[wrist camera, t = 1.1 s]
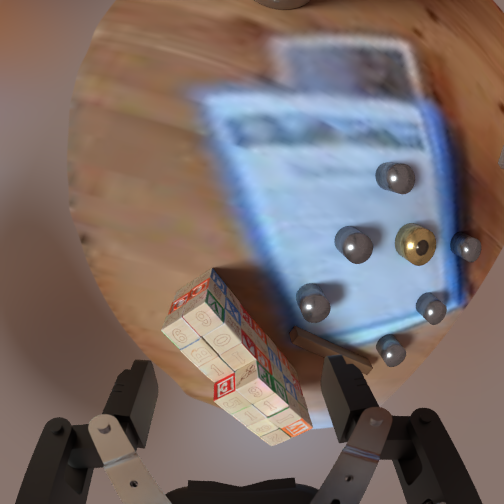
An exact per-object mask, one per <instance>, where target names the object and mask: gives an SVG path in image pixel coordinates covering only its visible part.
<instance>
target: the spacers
mask: <svg viewBox="0 0 504 504" xmlns="http://www.w3.org/2000/svg"><path fill="white" fill-rule="evenodd" d="M376 181H377V183H378V185H379V186H380V187H381V188H382V189H385V190H388V191H392V192H396V193H399V194H406V193H408V192H410V191H411V190H412V188H413V186H414V183H415V175H414V172H413V170H412V169H411V168H410V167H409V166H408V165H406V164H398V163H388V162H386V163H383V164H381V165H380V166H379V167H378V168H377V171H376ZM335 246H336V248H337V249H338V250H339V251H340V252H341V253H342V254H343V255H344V256H345V257H346V258H347V259H348V260H349V261H350V262H352V263H354V264H360V263H363V262H365V261H366V260H368V259H369V257H370V256H371V254H372V251H373V244H372V241H371V239H370V238H369V237H368V236H366V235H365V234H363V233H362V232H360V231H359V230H357V229H355V228H354V227H351V226H347V227H343V228H342V229H340V230H339V231H338V232H337V234H336V236H335ZM450 247H451V251H452V252H453V253H454V254H456V255H458V256H460V257H461V258H463V259H465V260H467V261H469V262H474V261H475V260H477V258H478V257H479V255H480V252H481V243H480V241H479V240H478V239H476V238H473V237H471V236H469V235H467V234H464V233H462V232H457V233H456V234H455V235H454V236H453V238H452V240H451V244H450ZM296 301H297V303H298V305H299V308H300V310H301V313H302V315H303V317H304V319H305V320H306V321H308V322H311V323H317V322H320V321H322V320H324V319H325V318H326V317H327V316H328V315H329V313H330V303H329V302H328V300H327V298H326V297H325V295H324V294H323V292H322V290H321V289H320V287H319V286H317V285H315V284H306V285H303V286H302V287H301V288H300V289H299V290H298V291H297V294H296ZM416 310H417V311H418V312H419V313H420V314H421V315H422V316H423V317H424V318H425V319H426V320H427V321H428V322H429V323H430V324H432V325H436V324H438V323H440V322H441V321H442V320H443V318H444V317H445V315H446V311H447V308H446V306H445V305H444V304H443V303H442V302H441V301H439V300H438V299H437V298H436V297H435V296H433V295H432V294H431V293H424V294H423V295H421V296H420V297H419V299H418V300H417V303H416ZM376 349H377V351H378V353H379V354H380V356H381V357H382V359H383V360H384V362H385V363H386V365H387V366H389V367H395V366H397V365H399V364H400V363H401V362H402V361H403V360H404V359H405V356H406V351H405V349H404V348H403V347H402V346H401V344H400V343H399V342H398V340H397V339H396V338H395V337H394V336H393V335H391V334H388V335H385V336H383V337H382V338H381V339H380V340H379V341H378V342H377V345H376Z"/></svg>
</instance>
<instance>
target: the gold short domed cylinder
mask: <svg viewBox="0 0 504 504" xmlns="http://www.w3.org/2000/svg"><path fill="white" fill-rule="evenodd" d="M395 248H396V251H397V252H398V254H399V255H401V256H402V257H404V258H405V259H406V260H408V261H409V262H411V263H412V264H414V265H417V266H421V265H424V264H426V263H427V262H428V261H429V260H430V259H431V258H432V257H433V255H434V252H435V249H436V239H435V236H434V234H433V233H432V232H431V231H429V230H427V229H425V228H423V227H421V226H419V225H416V224H414V223H409V224H406V225H404V226H403V227H402V228H401V229H400V230H399V231H398V233H397V235H396V238H395Z"/></svg>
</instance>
